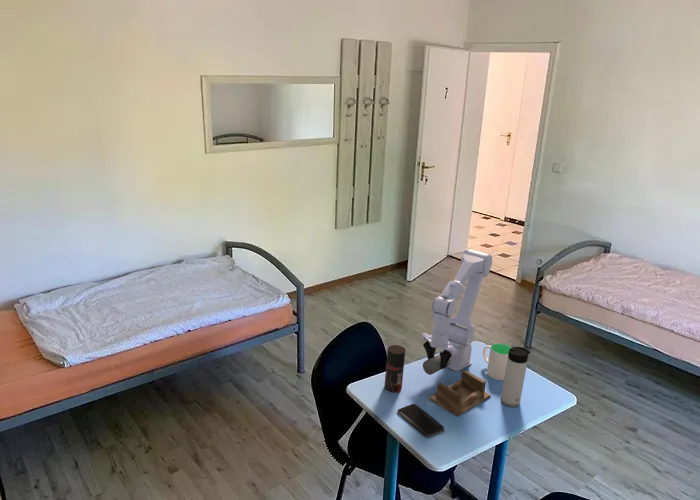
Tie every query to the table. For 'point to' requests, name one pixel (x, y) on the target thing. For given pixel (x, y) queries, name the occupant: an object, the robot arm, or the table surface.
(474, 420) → the table surface
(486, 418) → the table surface
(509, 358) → the travel mug
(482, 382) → the cradle
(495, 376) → the mug
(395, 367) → the deodorant
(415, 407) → the phone
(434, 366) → the roll
